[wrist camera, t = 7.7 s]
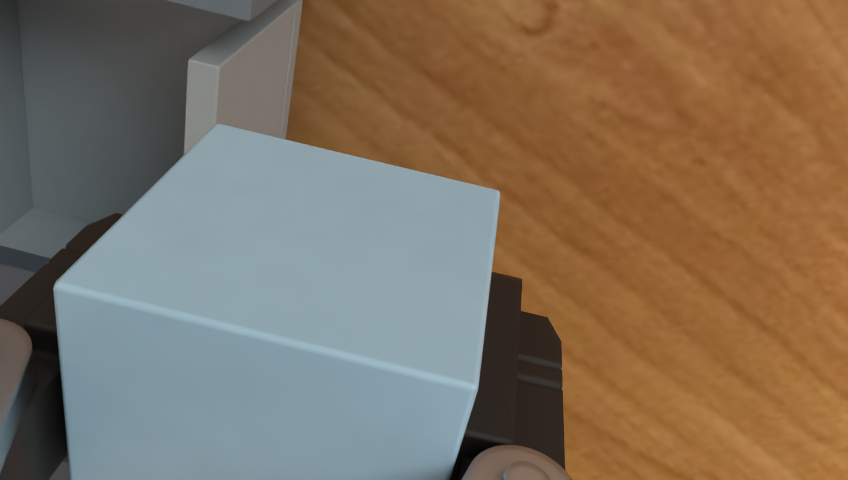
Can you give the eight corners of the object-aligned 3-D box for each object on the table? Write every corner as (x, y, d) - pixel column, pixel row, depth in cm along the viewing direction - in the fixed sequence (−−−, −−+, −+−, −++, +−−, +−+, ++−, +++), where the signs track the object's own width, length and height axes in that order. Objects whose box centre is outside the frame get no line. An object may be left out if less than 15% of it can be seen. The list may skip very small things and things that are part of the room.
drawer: (-35, -342, 21) (-308, -408, 14) (361, -243, 21) (274, -262, 14) (15, 202, 30) (-136, 316, 23) (288, 272, 30) (215, 408, 23)
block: (204, 343, 13) (74, 553, 10) (215, 120, 11) (49, 284, 7) (442, 401, 13) (402, 636, 10) (502, 188, 11) (479, 388, 7)
